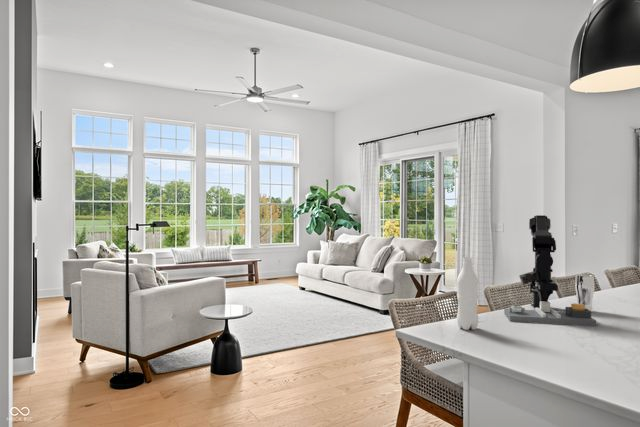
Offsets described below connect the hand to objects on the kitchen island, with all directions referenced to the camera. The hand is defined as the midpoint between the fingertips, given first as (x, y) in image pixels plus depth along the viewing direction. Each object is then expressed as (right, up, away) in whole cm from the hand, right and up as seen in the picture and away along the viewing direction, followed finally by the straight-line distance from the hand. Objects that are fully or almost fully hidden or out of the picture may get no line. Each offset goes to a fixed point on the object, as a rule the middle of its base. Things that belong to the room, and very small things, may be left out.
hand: (543, 305), depth 173 cm
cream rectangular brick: (-1, -2, -3) cm, 3 cm away
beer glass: (+22, -4, +8) cm, 24 cm away
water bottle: (-37, -4, -19) cm, 42 cm away
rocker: (-12, -1, -4) cm, 13 cm away
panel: (-2, -4, -6) cm, 8 cm away
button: (+9, 0, -9) cm, 13 cm away
